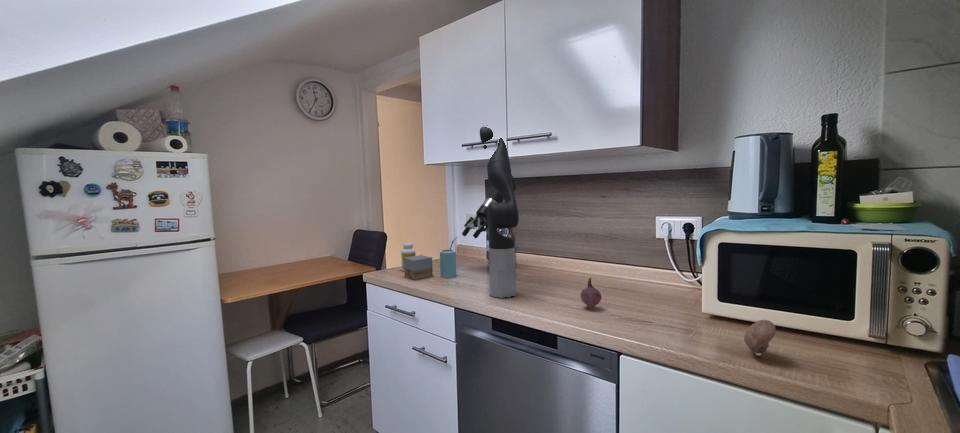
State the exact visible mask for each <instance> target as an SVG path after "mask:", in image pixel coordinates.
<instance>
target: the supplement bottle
mask: <svg viewBox="0 0 960 433" xmlns="http://www.w3.org/2000/svg"><path fill="white" fill-rule="evenodd" d="M402 248H403V249H401V251H400V256H401V271H402V272H404V273H405V271H404V258H406V257H412V256H416V249H414V243H408V242H407V243H403V244H402Z"/></svg>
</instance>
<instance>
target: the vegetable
mask: <svg viewBox="0 0 960 433" xmlns="http://www.w3.org/2000/svg"><path fill="white" fill-rule="evenodd" d="M580 299H581V301H582V302H583V304H585V305H586V306H587V307H588V306H590V307H592V308H594V307H596V306H597V305H599V304H600V303H601V301H602V294H601V292H600V291H599V290H598V289H597V288H595V287H594V286H593V284H592V277H589V278H588V280H587V287H585V288H583V289H582V290H581V292H580ZM593 306H594V307H593ZM590 307H589V308H590Z"/></svg>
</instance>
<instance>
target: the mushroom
mask: <svg viewBox="0 0 960 433" xmlns="http://www.w3.org/2000/svg"><path fill="white" fill-rule="evenodd" d="M776 332H777V329H776V325H775V323H773V322H772V321H770V320H768V319H759V320H757V321H756V322H754V323H752V324H751V325H750V326H749V327H748V328H747V329H746V331H745V334H744V340H743V341H744V343H745V344H746V346H747V347H748V348H749V350H750V351H752V352H753V353H754V352H756V353H763V354H764V353H765V352H767V351H768V349H769V345H770V344H769V343H770V342H771V341H772V339H774V337H775V334H776Z"/></svg>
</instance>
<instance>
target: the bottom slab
mask: <svg viewBox="0 0 960 433" xmlns="http://www.w3.org/2000/svg"><path fill="white" fill-rule="evenodd" d="M433 268H434V267H432V268H428V269H423V270H418V271H413V270H409V269H406V268H404V271H405V272H404V271H403V272H404V278H406V279H408V280H409V279H410V280H412V281H415V282H416V281H420V280H426V279H430V278H433V277H434V276H433V274H434V273H433V270H434V269H433Z"/></svg>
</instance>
